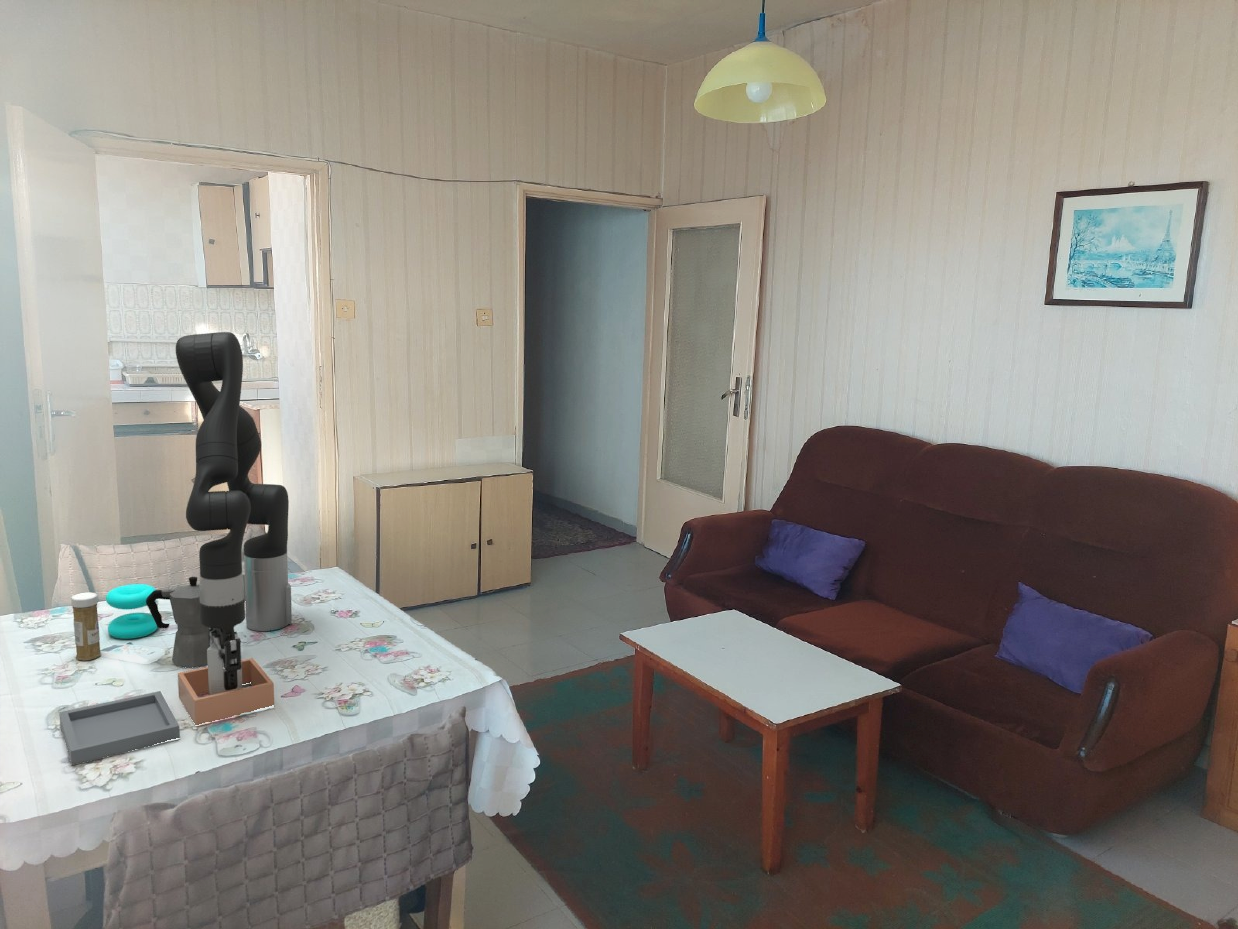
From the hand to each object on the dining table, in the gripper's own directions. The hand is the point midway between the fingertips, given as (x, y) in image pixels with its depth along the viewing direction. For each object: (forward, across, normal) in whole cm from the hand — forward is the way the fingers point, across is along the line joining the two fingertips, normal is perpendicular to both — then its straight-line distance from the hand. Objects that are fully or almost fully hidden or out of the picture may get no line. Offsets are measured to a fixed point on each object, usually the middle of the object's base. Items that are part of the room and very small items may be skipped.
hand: (225, 681), depth 165 cm
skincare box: (+5, 0, 0) cm, 5 cm away
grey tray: (+4, -2, +18) cm, 19 cm away
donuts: (+5, +46, +8) cm, 47 cm away
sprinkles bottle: (+5, +36, +18) cm, 41 cm away
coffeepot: (+5, +24, +1) cm, 24 cm away
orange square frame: (+4, 0, 0) cm, 4 cm away
